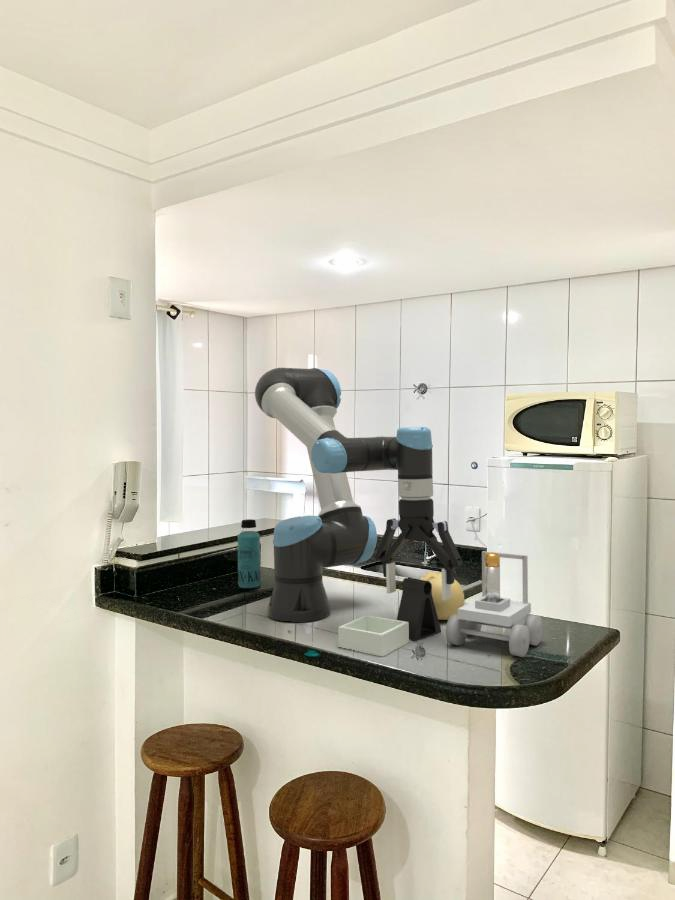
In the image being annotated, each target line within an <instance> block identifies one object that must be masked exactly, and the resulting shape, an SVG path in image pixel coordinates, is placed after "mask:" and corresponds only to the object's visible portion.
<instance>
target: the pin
mask: <svg viewBox="0 0 675 900" xmlns="http://www.w3.org/2000/svg"><path fill="white" fill-rule="evenodd" d="M489 552H490V553H485V601H486V602H494V603H499V602H500V597H501V557H500V554H499V553H500V552H497V553H493V552H494V551H489Z"/></svg>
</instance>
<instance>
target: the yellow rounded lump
mask: <svg viewBox="0 0 675 900" xmlns="http://www.w3.org/2000/svg"><path fill="white" fill-rule="evenodd" d="M419 580H424V581H429V582H430V583H431V584H432V597H433V601H434V605H435V609H436V612H437V616H438V620H439V621H445V620H446V621H448V620H449V618H450V616H451V615H453V614H454V615H458V608H460V607H462V606H464V605H465V594H464V590H463V588H462V586H461V584H460V583H459V582H458V581H457V580H456V579H455V578H454V583H453V584H451V598H450V599H448V600H446V601H445V600H442V572H434V571H428V572H426V573H425V574H423V576H422V577H421V578H419Z"/></svg>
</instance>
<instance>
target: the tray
mask: <svg viewBox="0 0 675 900" xmlns="http://www.w3.org/2000/svg"><path fill="white" fill-rule="evenodd" d="M409 643H410V640H409V622H405V621H399V620H397V619H392V618H385V617H380V616H374V615H369V614H365V615H363V616H360V617H358V618H356V619H354V620H351V621H349V622H347V623H344V624H342V625H340V626H338V648H339V647H344V648H347V649H346V650H348V649H352V650H351V651H353V650H355V651H354V652H358V651H359V652H358V653H362V652H363V653H364V654H367V655H373V656H377V657H382V658H383V657H385V656H386V655H388V654H390V653H392V652H394V651H396V650H398V649H399V648H401V647H403V646H405V645H407V644H409Z"/></svg>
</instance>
